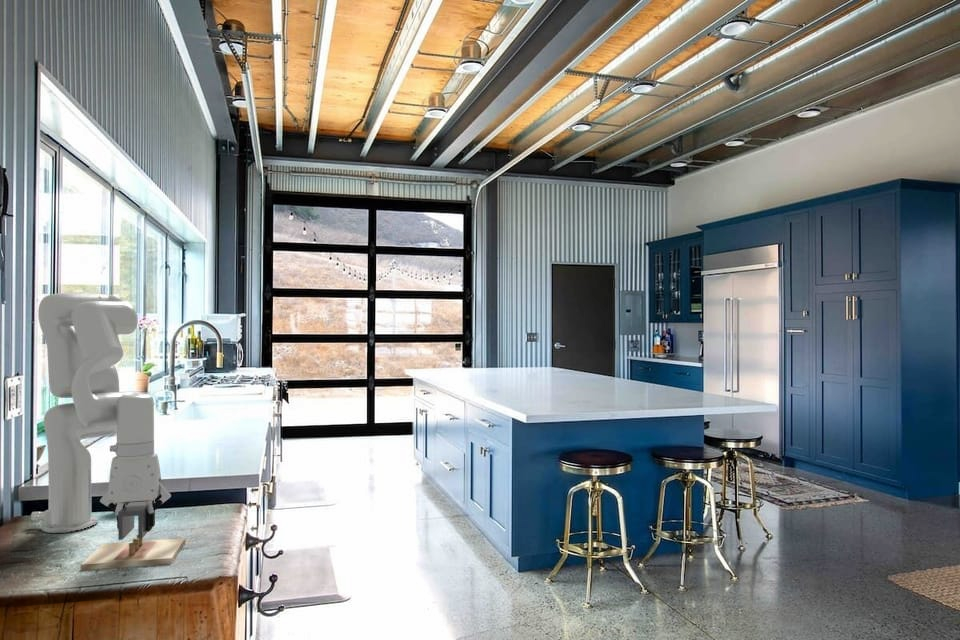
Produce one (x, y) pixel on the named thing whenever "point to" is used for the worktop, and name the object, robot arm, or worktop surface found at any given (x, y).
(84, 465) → the robot arm
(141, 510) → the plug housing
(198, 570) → the worktop surface
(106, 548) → the pin board
